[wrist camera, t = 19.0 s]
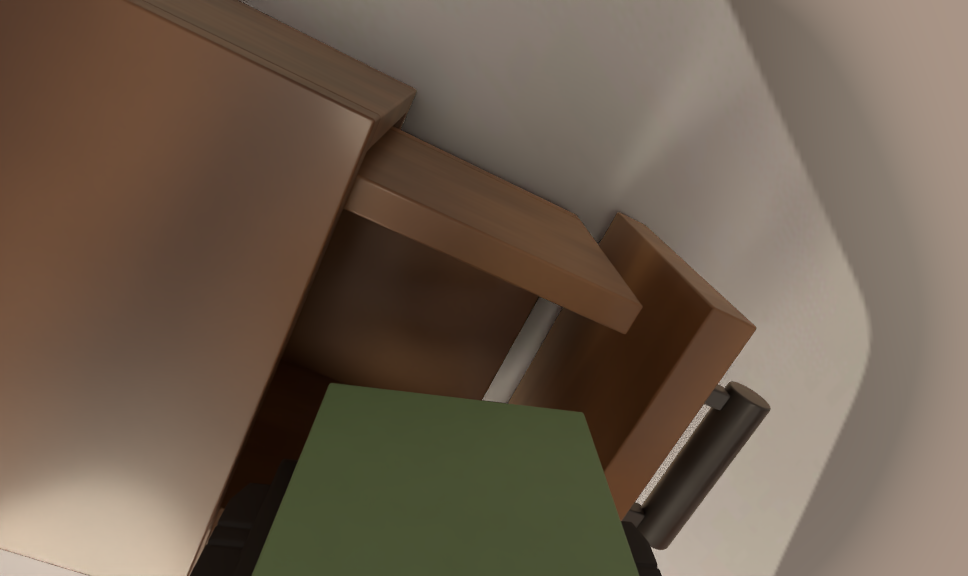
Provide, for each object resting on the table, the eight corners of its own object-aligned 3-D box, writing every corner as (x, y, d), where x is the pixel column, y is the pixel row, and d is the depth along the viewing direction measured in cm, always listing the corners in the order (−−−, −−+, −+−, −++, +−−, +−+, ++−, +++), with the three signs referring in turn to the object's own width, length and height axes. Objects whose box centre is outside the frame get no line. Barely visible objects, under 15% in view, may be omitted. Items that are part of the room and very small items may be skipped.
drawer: (748, 275, 22) (913, 400, 14) (596, 499, 26) (659, 703, 18) (286, 48, 19) (153, 41, 11) (185, 340, 23) (27, 502, 14)
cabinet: (417, 89, 21) (375, 120, 11) (293, 382, 24) (177, 603, 15) (-34, -136, 18) (-652, -375, 8) (-93, 233, 22) (-557, 381, 12)
